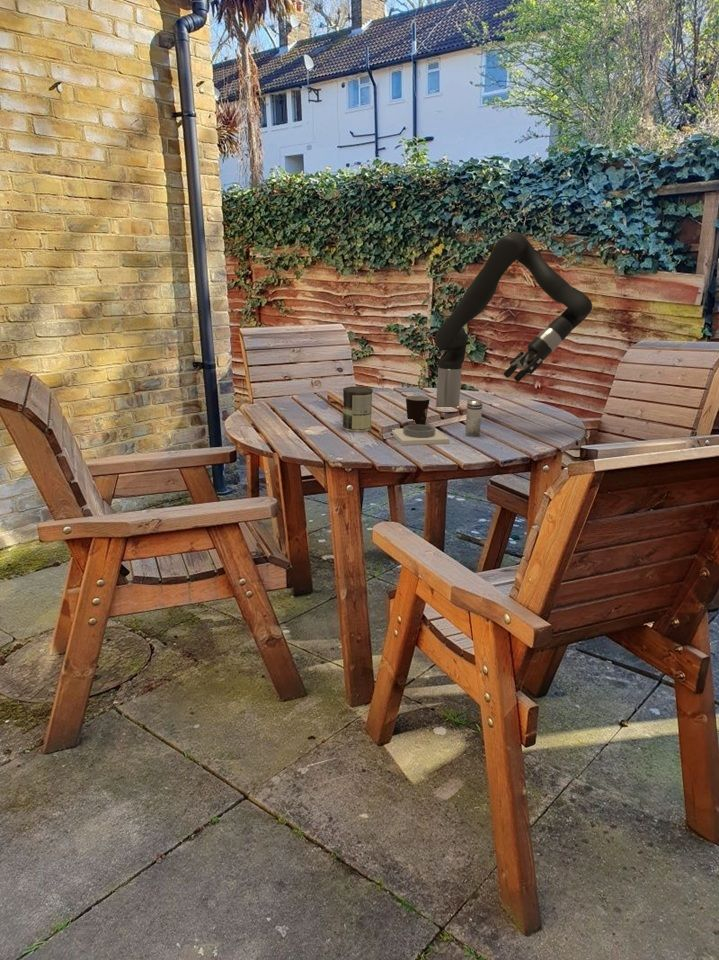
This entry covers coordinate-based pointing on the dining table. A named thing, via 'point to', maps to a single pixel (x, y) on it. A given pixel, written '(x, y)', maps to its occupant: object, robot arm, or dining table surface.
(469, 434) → the cylinder
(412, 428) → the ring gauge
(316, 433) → the dining table surface
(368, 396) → the coffee can
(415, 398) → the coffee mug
